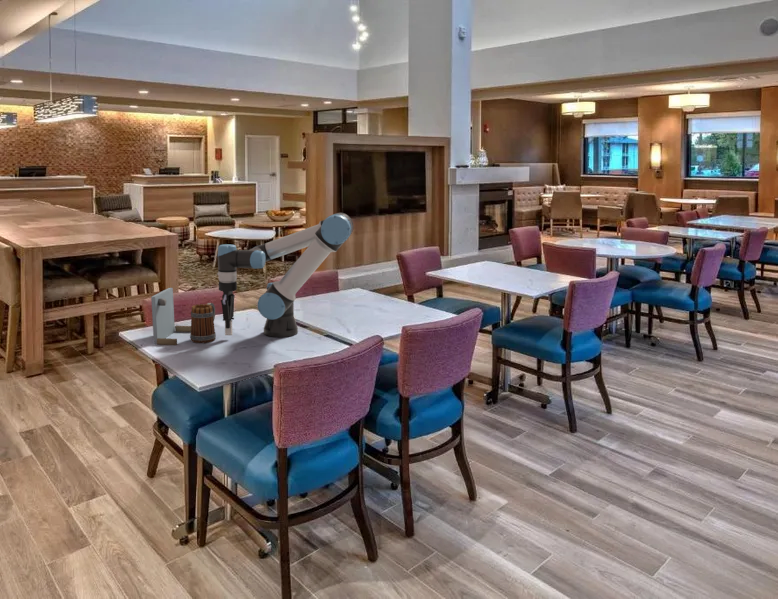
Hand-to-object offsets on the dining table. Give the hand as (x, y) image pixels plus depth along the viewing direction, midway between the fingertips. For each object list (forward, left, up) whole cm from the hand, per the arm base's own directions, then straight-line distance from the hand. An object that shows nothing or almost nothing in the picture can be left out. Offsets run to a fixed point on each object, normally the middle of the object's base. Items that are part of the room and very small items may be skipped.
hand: (228, 334), depth 271 cm
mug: (+10, 0, -2) cm, 10 cm away
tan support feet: (+23, 0, -2) cm, 23 cm away
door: (+27, 0, -2) cm, 27 cm away
